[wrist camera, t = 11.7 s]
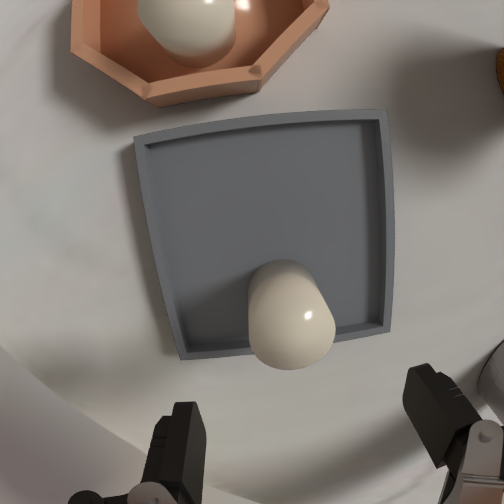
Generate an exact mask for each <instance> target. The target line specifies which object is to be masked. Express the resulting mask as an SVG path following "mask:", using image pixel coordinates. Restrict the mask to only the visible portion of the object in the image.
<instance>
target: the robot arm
mask: <svg viewBox="0 0 504 504" xmlns="http://www.w3.org/2000/svg"><path fill="white" fill-rule="evenodd" d="M478 391H479V394H480V395H481V397H482V398H483V399H484V400H485V402H486V403H487V404H488V405H489V407H490V408H491V409H492V411H493V412H494V413H495V414H496V416H497V417H498V419H499V420H500V421H501V423H502V424H503V425H504V342H503V343H502V344H501V345H500V346H499V347H498V349H497V350H496V351H495V352H494V354H493V355H492V356H491V358H490V359H489V361H488V362H487V364H486V366H485V368H484V369H483V371H482V374H481V376H480V379H479V383H478ZM403 406H404V409H405V411H406V413H407V415H408V416H409V418H410V420H411V422H412V424H413V426H414V427H415V429H416V431H417V433H418V435H419V437H420V438H421V440H422V442H423V444H424V446H425V448H426V450H427V451H428V453H429V455H430V457H431V459H432V461H433V463H434V465H435V467H436V469H438V468H440V467H442V466H445V465H447V467H448V469H449V470H448V472H447V474H446V478H445V481H444V485H443V488H442V491H441V495H440V498H439V501H438V504H501V501H502V496H503V492H504V426H500V425H499V424H498V423H496V422H494V421H492V420H483V419H482V418H481V417H480V415H479V414H478V413H477V411H476V410H475V409H474V407H473V406H472V405H471V403H470V402H469V401H468V400H467V398H466V397H465V396H464V395H463V393H462V392H461V390H460V389H459V388H457V385H456V384H455V383H454V382H453V380H452V379H451V378H450V377H448V376H447V375H445V374H443V373H442V372H438V373H436V372H435V371H434V369H433V368H432V367H431V366H430V364H428V363H425V364H422V365H418V366H415V367H411V368H409V370H408V373H407V378H406V383H405V388H404V392H403ZM205 453H206V431H205V427H204V424H203V421H202V418H201V415H200V412H199V409H198V406H197V403H196V402H195V401H194V402H175V404H174V407H173V412H172V416H162V418H161V419H160V420H159V421H158V423H157V424H156V425H155V428H154V432H153V436H152V440H151V443H150V448H149V451H148V456H147V460H146V464H145V468H144V472H143V476H142V480H141V482H140V484H138V485H136V486H135V487H133V488H132V489H131V490H130V492H129V493H128V494H125V495H120V496H114V497H106V498H102V497H101V496H100V495H98V494H97V493H95V492H93V491H89V490H85V491H80V492H77V493H75V494H74V495H73V496H72V497H71V498H70V499H69V501H68V504H201V502H202V489H203V477H204V464H205Z"/></svg>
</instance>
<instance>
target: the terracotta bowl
mask: <svg viewBox="0 0 504 504" xmlns="http://www.w3.org/2000/svg"><path fill="white" fill-rule="evenodd" d="M137 3H138V0H72V15H71V51H70V52H71V53H72V54H74V55H76V56H78V57H80V58H81V59H83V60H85V61H86V62H88V63H90V64H91V65H93V66H94V67H96V68H98V69H99V70H101V71H102V72H104V73H105V74H107V75H109V76H110V77H112V78H113V79H115V80H116V81H118V82H119V83H121V84H122V85H124V86H126V87H127V88H129V89H130V90H132V91H133V92H135V93H136V94H138V95H139V96H141V97H142V99H143V100H145V101H147V102H149V103H151V104H153V105H155V106H157V107H159V108H160V107H161V108H162V107H165V106H170V105H175V104H180V103H185V102H191V101H196V100H202V99H208V98H215V97H222V96H229V95H236V94H244V93H253V92H257V93H258V92H260V89H261V88H262V87H263V86H264V85H265V83H266V82H267V81H268V80H269V79H270V78H271V77H272V75H273V74H274V73H275V72H276V71H277V70H278V69H279V68H280V66H281V65H282V64H283V63H284V62H285V61H286V60H287V59H288V58H289V57H290V55H291V54H292V53H293V52H294V51H295V50H296V49H297V48H298V47H299V46H300V45H301V44H302V43H303V42H304V40H305V39H306V38H307V37H308V36H309V35H310V34H311V33H312V32H313V31H314V30H315V29H317V28H318V26H319V24H320V23H321V21H322V20H323V18H324V16H325V15H326V13H327V12H328V10H329V8H330V6H329V3H328V0H234V9H235V23H236V40H235V44H234V46H233V48H232V49H231V51H230V52H229V54H228V55H227V56H226V57H224V58H223V59H222V60H220V61H219V62H217V63H215V64H213V65H210V66H207V67H201V68H191V67H186V66H182V65H180V64H178V63H176V62H175V61H174V60H172V59H171V58H170V56H169V55H168V54H167V53H166V52H165V50H164V49H163V48H162V47H161V45H160V44H159V43H158V42H157V41H156V39H155V38H154V37H153V36H152V35H151V33H150V32H149V31H148V30H147V29H146V27H145V26H144V25H143V24H142V22H141V21H140V19H139V16H138V12H137Z"/></svg>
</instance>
